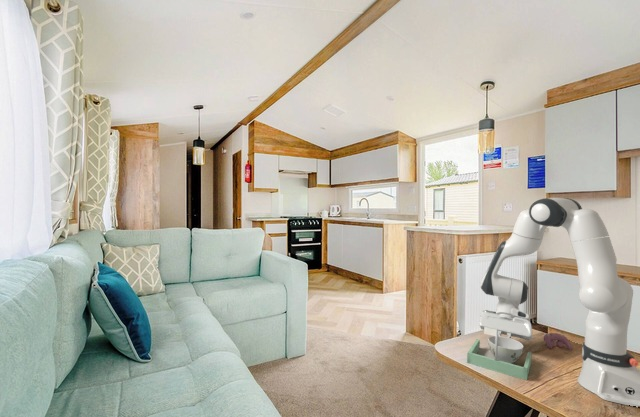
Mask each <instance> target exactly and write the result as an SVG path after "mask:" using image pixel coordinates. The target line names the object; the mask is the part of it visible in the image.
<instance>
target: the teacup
mask: <svg viewBox="0 0 640 417" xmlns="http://www.w3.org/2000/svg"><path fill="white" fill-rule="evenodd" d="M495 338H496V336H489V337H488V338H487V344H488V347H489V351H490V352H491V354H492V356H493V357H494V358H495ZM523 351H524V345H523V343H521V342H520V341H519V340H516V339H514V338H512V337H511V338H507V336H501V337H499V336H498V352H497V360H499V361H503V362H507V363H510V364H514V363H515V362H516V361H517V362H518V360H519V358H520V357H521V356H522V353H523Z"/></svg>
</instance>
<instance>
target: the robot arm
mask: <svg viewBox="0 0 640 417" xmlns="http://www.w3.org/2000/svg"><path fill="white" fill-rule="evenodd" d="M547 227H555V228H559V227H562V228H564V229H565V230H566V232H567V234H568V237H569V240H570V243H571V246H572V251H573V255H574V257H575V262H576V266H577V276H578V286H579V293H578V298H579V301H580V302H581V304H582V305H583V307H585V308H586V309H588V312H587V316H586V319H585V321H584V342H583V343H582V348H581V350H582V352H581V353H582V354H581V356H582V365H581V370H580V373H579V374H578V375H579V376H578V377H577V383H578V384H579V385H580V386H581V387H582V388H585V389H586V390H587V391H589V392H590V393H591V392H592V393H593V394H594V395H596V396H598V397H600V398H601V399H602V400H604V401H606V402H607V401H608V402H612V403H615V404H616V403H617V404H621V405H625V406H629V405H630V406H631V407H633V406H636V407H635V408H638V406H640V369H639V368H638V366H639V362H638V360H637V359H636V358H635V356H633V354H632V353H631V352H628V351H627V347H628V346H627V344H628V330H629V329H628V328H629V322H630V319H631V318H630V317H631V313H632V312H631V311H632V304H633V299H634V298H633V297H634V290H633V287H632V285H631V284H630V283H629V282H628V281H627V280H626V279H625V278H624V279H623V278H621V277H619V275H618V267H617V256H616V253H615V249H614V247H613V243H612V240H611V237H610V235H609V232H608V230H607V227H606V224H605V223H604V221H603V219H602V217H601V216H600V214H599V213H598V212H597V211H595V210H593V209H589V208H583V207H582V205H581V204H580V203H579V202H578V201H576V200H575V199H572V198H569V197H568V198H567V197H546V198H540V199H538V200H536V201H534V202H533V203H532V204H531V205H530V207H529V208H527V209H523V210H522V211H520V213H519V214H518V216H517V218H516V220H515V223H514V226H513V229H512V232H511V235H510V237H509V238H508V239H506V240H503V241H501V243H499V246H498V247H497V249H496V251H495V253H494V255H493V257H492V259H491V262H490V263H489V266H488V268H487V270H486V272H485V273H484V275H483V277H481V281H480V289H481V290H482V291H483V293H484V294H486V295H488V296H493V297H495V296H496V297H498V302H497V304H496V309H495V310H496V311H492V310H488V309H485V310H482V311H481V313H480V320H479V323H478V324H479V328H480V329H481V330H483V331H484V327H487V328H491V329H498V336H499V337H502V335H506V337H507V338H511V339H512V337H514V338H518V339H521V340H527V341H532V340H533V328H532V323H531V318H530V315H529V314H528V313H526V312H523V311H521V310H520V308H519V306H520V305H521V304H524V303H526V302H527V301H528V291H529V286H528V285H527V284H526V282H525V281H523V280H521V279H516V278H512V277H509V276H504V275H500V274H498V273H499V271H500V269H501V266H502V264H503V263H504V261H505V260H506V259H508V258H512V257H519V256H520V257H521V256H522V257H523V256H529V255H532V254H534V253H535V252H537V251H538V250H540V247H541V246H542V242H543V239H544V234H545V231H546V228H547ZM630 406H629V407H630Z"/></svg>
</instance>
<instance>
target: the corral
mask: <svg viewBox="0 0 640 417" xmlns="http://www.w3.org/2000/svg"><path fill="white" fill-rule="evenodd" d="M483 334H484V335H488V336H490V337H492V336H496V338H495V357H494V358H492V357H488V356H485V355H481V354H478V352H479V350H480V347H481V346H480V344H481V339H478V338H477V339H475V341H474V343H472V345H471V347H470V348H469V350H468V351H467V354H466V355H467V356H466V357H467V358H466V363H467V364H470V365H474V366H477V367H481V368H484V369H486V370H491V371H494V372H497V373H501V374H504V375H508V376H511V377H514V378H517V379H520V380H524V381H527V380H528V378H529V373H530V368H531V365H532V352H530V351H527V353H526V357H525V362H524V365H523V366H521V365H518V364H517V365H516V364H514V363H513V364H510V363H507V362H503V361H499V360H497V352H498V329H491V328H487V327H484V330H483Z"/></svg>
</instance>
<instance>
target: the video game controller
mask: <svg viewBox="0 0 640 417" xmlns="http://www.w3.org/2000/svg"><path fill="white" fill-rule="evenodd" d="M542 338H543V340H544V342H545V345H546V346H547V348H548V349H549V350H552V348H553V347H556V346H558V347H559V348H562V347H564V346H565V347H566V349H568V350H569V351H572V349H573V348H572V344H571V343H570V341H569V340H568V337H566V336H565V335H564V334H560V333H555V332H550V333H547V334H544V335H543V337H542ZM555 341H557V342H555Z"/></svg>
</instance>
